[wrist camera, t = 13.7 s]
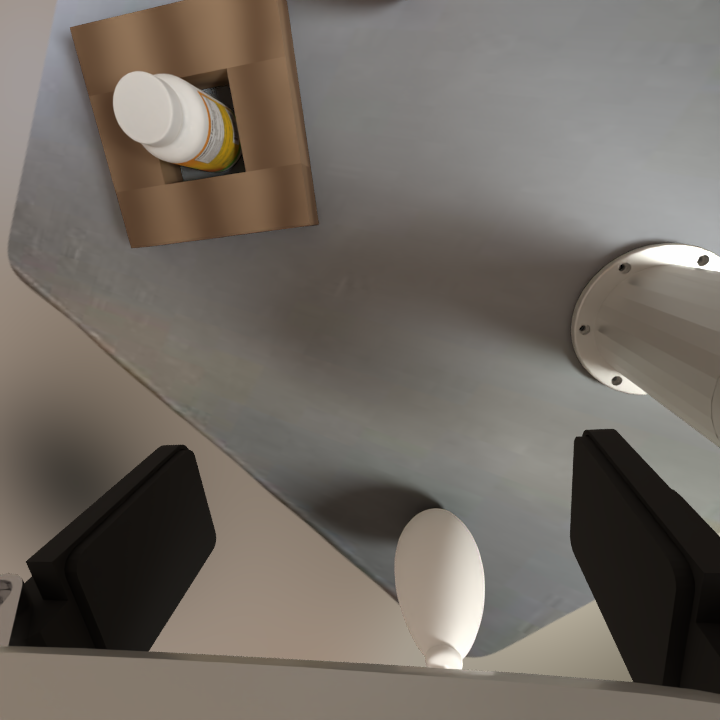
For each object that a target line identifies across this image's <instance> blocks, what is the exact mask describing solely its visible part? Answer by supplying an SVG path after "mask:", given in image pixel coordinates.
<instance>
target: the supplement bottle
mask: <svg viewBox="0 0 720 720" xmlns="http://www.w3.org/2000/svg"><path fill="white" fill-rule="evenodd" d="M113 109H114V113H115V117H116V119H117V122H118V124H119V125H120V127H121V128H122V130H123V131H124V132H125V133H126V134H127V135H128V136H129V137H130V138H132V139H133V140H135V141H137V142H139V143H141V144H142V145H143V146H144V148H145V149H146V150H147V151H148V152H150V153H151V154H152V155H153V156H155V157H157V158H159V159H161V160H163V161H166V162H170V163H174V164H178V165H182V166H186V167H190V168H194V169H199V170H203V171H207V172H215V173H217V172H223V171H226V170H228V169H230V168H231V167H232V166H233V165H234V164H235V163H236V162H237V161H238V159H239V158H240V156H241V153H242V148H241V143H240V137H239V132H238V127H237V121H236V116H235V114H234V113H233V111H232V110H231V109H230V108H228V107H227V106H226V105H224V104H223V103H221V102H220V101H218V100H216V99H215V98H213V97H211V96H210V95H208V94H206V93H205V92H203V91H201V90H200V89H198V88H196V87H195V86H193V85H191V84H190V83H188V82H187V81H185V80H183V79H181V78H179V77H177V76H174V75H171V74H155V75H152V74H149V73H147V72H143V71H134V72H131V73H128V74H126V75H125V76H124V77H122V78H121V80H120V81H119V82H118V84H117V85H116V88H115V91H114V95H113Z"/></svg>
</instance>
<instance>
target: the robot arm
mask: <svg viewBox="0 0 720 720" xmlns="http://www.w3.org/2000/svg"><path fill="white" fill-rule="evenodd" d="M698 257H699V260H698V261H697V259H698ZM621 264H622V265H623V268H622V269H621V270H619V267H620V265H621ZM582 325H584V328H583V329H582V330H579V329H580V327H581V326H582ZM571 337H572V345H573V347H574V350H575V353H576V356H577V358H578V359H579V361H580V362H581V364H582V365H583V367H584V368H585V369H586V370H587V371H588V372H589V373H590V374H591V375H592V376H593V377H594V378H596V379H597V380H598V381H599V382H601V383H602V384H604V385H606V386H608V387H609V388H611V389H614V390H617V391H621V392H624V393H627V394H636V395H650V396H651V397H652V398H654V399H655V400H656V401H658V402H659V403H660V404H662V405H663V406H664V407H666V408H667V409H668V410H670V411H671V412H672V413H674V414H675V415H676V416H678V417H679V418H680V419H682V420H683V421H684V422H686V423H687V424H688V425H690V426H691V427H692V428H694V429H695V430H696V431H698V432H699V433H700V434H702V435H703V436H704V437H706V438H707V439H709V440H710V441H711V442H713V443H714V444H715V445H717V446H718V447H719V448H720V257H719V256H718V255H716V254H715V253H713V252H711V251H709V250H706V249H704V248H701V247H698V246H693V245H687V244H679V243H662V244H653V245H648V246H645V247H641V248H638V249H634V250H632V251H630V252H628V253H626V254H623V255H621V256H619V257H618V258H616V259H615V260H613V261H612V262H610V263H609V264H607V265H606V266H604V267H603V268H602V269H601V270H600V271H599V272H598V273H597V274H596V275H595V276H594V277H593V278H592V279H591V280H590V282H589V283H588V284H587V286H586V287H585V288H584V290H583V291H582V293H581V295H580V297H579V299H578V301H577V303H576V306H575V309H574V313H573V316H572V324H571ZM614 377H615V378H614ZM612 378H614V379H612ZM570 540H571V546H572V550H573V552H574V555H575V557H576V559H577V561H578V563H579V566H580V568H581V570H582V572H583V574H584V576H585V579H586V581H587V583H588V585H589V587H590V589H591V591H592V594H593V596H594V598H595V600H596V602H597V604H598V607H599V609H600V611H601V613H602V615H603V617H604V619H605V622H606V624H607V626H608V628H609V630H610V632H611V635H612V637H613V639H614V641H615V643H616V645H617V648H618V650H619V652H620V654H621V656H622V658H623V661H624V663H625V665H626V667H627V669H628V671H629V674H630V676H631V678H632V680H633V682H624V681H611V680H599V679H587V678H574V677H562V676H549V675H537V674H525V673H524V674H523V673H509V672H493V671H477V670H462V669H446V668H430V667H414V666H398V665H382V664H381V665H380V664H365V663H349V662H331V661H314V660H297V659H280V658H262V657H261V658H260V657H244V656H243V657H242V656H226V655H206V654H188V653H187V654H186V653H167V652H148V651H149V650H150V648H151V647H152V645H153V644H154V642H155V640H156V639H157V637H158V636H159V634H160V632H161V631H162V629H163V628H164V626H165V625H166V623H167V622H168V620H169V618H170V617H171V615H172V614H173V612H174V611H175V609H176V607H177V606H178V604H179V603H180V601H181V599H182V598H183V596H184V595H185V593H186V592H187V590H188V588H189V587H190V585H191V584H192V582H193V581H194V579H195V577H196V576H197V574H198V572H199V571H200V569H201V568H202V566H203V565H204V563H205V562H206V560H207V558H208V557H209V555H210V554H211V552H212V550H213V549H214V546H215V543H216V533H215V529H214V525H213V522H212V518H211V514H210V510H209V507H208V503H207V499H206V496H205V492H204V488H203V485H202V481H201V477H200V473H199V470H198V466H197V462H196V459H195V455H194V453H193V452H192V451H191V450H189V449H188V448H187V447H186V446H185V445H164V446H161V447H159V448H158V449H157V450H155V451H154V452H153V453H152V454H151V455H150V456H148V457H147V458H146V459H145V460H144V461H142V462H141V463H140V464H139V465H138V466H137V467H135V468H134V469H133V470H132V471H131V472H130V473H128V474H127V475H126V476H125V477H124V478H123V479H121V480H120V481H119V482H118V483H117V484H116V485H114V486H113V487H112V488H111V489H110V490H109V491H107V492H106V493H105V494H104V495H103V496H102V497H100V498H99V499H98V500H97V501H96V502H95V503H94V504H93V505H91V506H90V507H89V508H88V509H87V510H86V511H84V512H83V513H82V514H81V515H79V516H78V517H77V518H76V519H75V520H74V521H73V522H71V523H70V524H69V525H68V526H67V527H66V528H65V529H63V530H62V531H61V532H60V533H59V534H57V535H56V536H55V537H54V538H53V539H52V540H50V541H49V542H48V543H47V544H46V545H45V546H44V547H42V548H41V549H40V550H39V551H38V552H37V553H35V554H34V555H33V556H32V557H31V558H29V559H28V560H27V561H26V563H27V565H28V568H29V570H30V572H31V574H32V577H31V578H30V579H29V580H28V581H27V582H26V583H24V582H23V580H22V578H21V577H20V576H19V575H17V574H10V573H8V574H2V575H0V720H720V537H719V535H718V534H717V533H716V532H715V531H714V530H713V529H712V528H711V527H710V526H709V525H708V524H707V523H706V522H705V521H704V520H703V519H702V518H701V517H700V516H699V514H698V513H697V512H696V511H695V510H694V509H693V508H692V507H691V506H690V505H689V504H688V503H687V502H686V501H685V500H684V499H683V498H682V497H681V496H680V495H679V494H678V493H677V492H676V491H674V490H672V489H671V488H670V487H669V486H668V485H667V484H666V483H665V482H664V481H663V480H662V479H661V478H660V477H659V476H658V474H657V473H656V472H655V471H654V470H653V469H652V468H651V467H650V466H649V465H648V464H647V463H646V462H645V461H644V460H643V459H642V457H641V456H640V455H639V454H638V453H637V452H636V451H635V450H634V449H633V448H632V447H631V446H630V445H629V444H628V443H627V442H626V440H625V439H624V438H623V437H622V436H621V435H620V434H619V433H618V432H617V431H616V430H614V429H597V430H585V431H584V432H583V435H582V437H576V438H575V440H574V456H573V479H572V502H571V524H570Z"/></svg>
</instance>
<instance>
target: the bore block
mask: <svg viewBox="0 0 720 720" xmlns="http://www.w3.org/2000/svg"><path fill="white" fill-rule="evenodd" d="M70 30H71V34H72V37H73V41H74V44H75V48H76V51H77V55H78V59H79V62H80V66H81V69H82V73H83V77H84V80H85V84H86V87H87V91H88V94H89V98H90V102H91V105H92V109H93V112H94V116H95V120H96V123H97V127H98V130H99V134H100V138H101V141H102V145H103V148H104V152H105V155H106V159H107V163H108V166H109V170H110V173H111V177H112V181H113V184H114V188H115V191H116V195H117V198H118V202H119V206H120V209H121V213H122V216H123V220H124V224H125V227H126V231H127V234H128V238H129V241H130V245H131V248H139V247H150V246H159V245H166V244H174V243H182V242H189V241H197V240H205V239H212V238H220V237H227V236H235V235H243V234H250V233H258V232H266V231H273V230H281V229H288V228H296V227H304V226H311V225H319V222H318V215H317V208H316V201H315V194H314V187H313V180H312V173H311V166H310V159H309V152H308V145H307V138H306V131H305V124H304V117H303V110H302V103H301V96H300V89H299V82H298V75H297V68H296V62H295V55H294V48H293V41H292V34H291V27H290V20H289V13H288V6H287V1H286V0H184V1H180V2H175V3H171V4H167V5H163V6H158V7H154V8H150V9H146V10H142V11H137V12H133V13H129V14H125V15H120V16H116V17H112V18H108V19H104V20H99V21H95V22H91V23H87V24H82V25H78V26H74V27H70ZM134 71H143V72H147V73H149V74H152V75H155V74H171V75H174V76H177V77H179V78H181V79H183V80H185V81H187V82H188V83H190V84H191V85H193V86H195V87H196V88H198V89H200V90H202V89H207V88H212V87H218V86H223V85H228V84H230V89H231V95H232V100H233V105H234V111H235V116H236V121H237V127H238V132H239V137H240V143H241V148H242V153H243V159H244V164H245V169H246V172H242V173H236V174H230V175H223V176H217V177H210V178H204V179H198V180H191V181H185V182H183V178H182V174H181V169H180V165H178V164H174V163H170V162H166V161H163V160H161V159H159V158H157V157H155V156H153V155H152V154H151V153H150V152H148V151H147V150H146V149H145V148H144V146H143V145H142V144H141V143H139V142H137V141H135V140H133V139H132V138H130V137H129V136H128V135H127V134H126V133H125V132H124V131H123V130H122V128H121V127H120V125H119V124H118V122H117V119H116V117H115V113H114V109H113V95H114V91H115V88H116V85H117V84H118V82H119V81H120V80H121V78H122V77H124V76H125V75H126V74H128V73H131V72H134Z"/></svg>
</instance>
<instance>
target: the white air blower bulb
mask: <svg viewBox="0 0 720 720" xmlns="http://www.w3.org/2000/svg"><path fill="white" fill-rule="evenodd" d="M395 583H396V591H397V596H398V600H399V604H400V607H401V610H402V614H403V617H404V620H405V622H406V625H407V627H408V629H409V632H410V634H411V636H412V638H413V640H414V642H415V643H416V645H417V646H418V648H419V650H420V651H421V652H422V654H423V655H424V656H425V662H426V665H427V667H430V668H446V669H462V666H463V662H462V659H463V658H464V657H465V656H466V655H467V653H468V652H469V650H470V649H471V647H472V645H473V643H474V640H475V638H476V635H477V632H478V629H479V626H480V622H481V618H482V613H483V607H484V595H485V581H484V571H483V565H482V561H481V557H480V553H479V550H478V547H477V545H476V543H475V541H474V539H473V536H472V535H471V533H470V531H469V530H468V529H467V527H466V526H465V525H464V523H463V522H462V521H461V520H460V519H459V518H458V517H456V516H455V515H454V514H452V513H451V512H449V511H447V510H444V509H439V508H434V509H428V510H425V511H422V512H420V513H419V514H417V515H416V516H414V517H413V518H412V519H411V520H410V521H409V522H408V524H407V525H406V526H405V528H404V530H403V532H402V533H401V535H400V538H399V541H398V544H397V549H396V554H395Z"/></svg>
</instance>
